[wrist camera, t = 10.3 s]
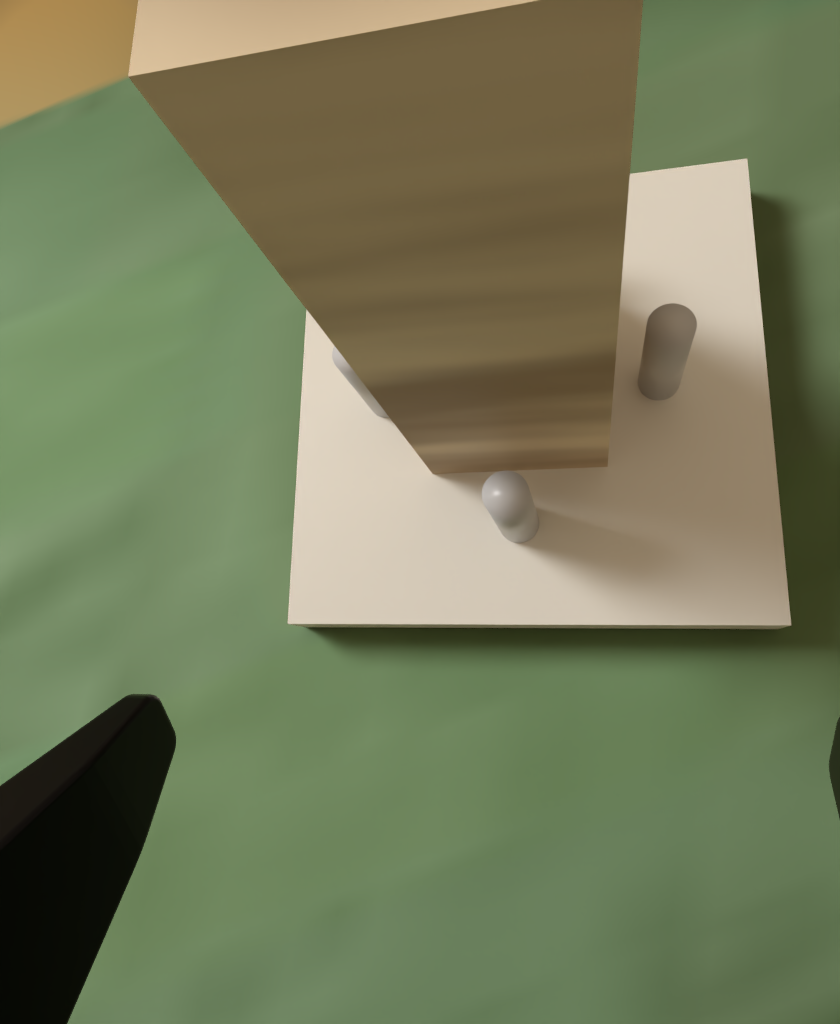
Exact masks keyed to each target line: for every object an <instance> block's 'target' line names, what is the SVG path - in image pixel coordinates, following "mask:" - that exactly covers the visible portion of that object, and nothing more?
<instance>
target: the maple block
mask: <svg viewBox="0 0 840 1024" xmlns="http://www.w3.org/2000/svg"><path fill="white" fill-rule="evenodd" d="M642 7H643V0H139V1H138V8H137V15H136V23H135V30H134V38H133V45H132V53H131V60H130V68H129V75H128V77H129V78H130V79H131V81H132V82H133V83H134V85H135V86H136V87H137V89H138V90H139V91H140V93H141V94H142V95H143V96H144V98H145V99H146V100H147V102H148V103H149V104H150V106H151V107H152V108H153V110H154V111H155V112H156V113H157V115H158V116H159V117H160V119H161V120H162V121H163V123H164V124H165V125H166V126H167V128H168V129H169V130H170V132H171V133H172V134H173V136H174V137H175V138H176V140H177V141H178V142H179V143H180V145H181V146H182V147H183V149H184V150H185V151H186V153H187V154H188V155H189V157H190V158H191V159H192V160H193V162H194V163H195V164H196V166H197V167H198V168H199V170H200V171H201V172H202V173H203V175H204V176H205V177H206V179H207V180H208V181H209V183H210V184H211V185H212V187H213V188H214V189H215V190H216V192H217V193H218V194H219V196H220V197H221V198H222V200H223V201H224V202H225V203H226V205H227V206H228V207H229V209H230V210H231V211H232V213H233V214H234V215H235V217H236V218H237V219H238V220H239V222H240V223H241V224H242V226H243V227H244V228H245V230H246V231H247V232H248V234H249V235H250V236H251V237H252V239H253V240H254V241H255V243H256V244H257V245H258V247H259V248H260V249H261V250H262V252H263V253H264V254H265V256H266V257H267V258H268V260H269V261H270V262H271V264H272V265H273V266H274V267H275V269H276V270H277V271H278V273H279V274H280V275H281V277H282V278H283V279H284V281H285V282H286V283H287V284H288V286H289V287H290V288H291V290H292V291H293V292H294V294H295V295H296V296H297V297H298V299H299V300H300V301H301V303H302V304H303V305H304V307H305V308H306V309H307V311H308V312H309V313H310V314H311V316H312V317H313V318H314V320H315V321H316V322H317V324H318V325H319V326H320V328H321V329H322V330H323V331H324V333H325V334H326V335H327V337H328V338H329V339H330V341H331V342H332V343H333V344H334V346H335V347H336V348H337V350H338V351H339V352H340V354H341V355H342V356H343V358H344V359H345V360H346V361H347V363H348V364H349V365H350V367H351V368H352V369H353V371H354V372H355V373H356V375H357V376H358V377H359V378H360V380H361V381H362V382H363V384H364V385H365V386H366V388H367V389H368V390H369V391H370V393H371V394H372V395H373V397H374V398H375V399H376V401H377V402H378V403H379V405H380V406H381V407H382V408H383V410H384V411H385V412H386V414H387V415H388V416H389V418H390V419H391V420H392V422H393V423H394V424H395V425H396V427H397V428H398V429H399V431H400V432H401V433H402V435H403V436H404V437H405V438H406V440H407V441H408V442H409V444H410V445H411V446H412V448H413V449H414V450H415V452H416V453H417V454H418V455H419V457H420V458H421V459H422V461H423V462H424V463H425V465H426V466H427V467H428V469H429V470H430V471H431V472H432V474H444V473H468V472H492V471H505V470H507V471H516V470H540V469H564V468H588V467H608V453H609V440H610V427H611V414H612V401H613V388H614V375H615V362H616V348H617V335H618V322H619V309H620V296H621V283H622V270H623V257H624V243H625V230H626V217H627V204H628V191H629V178H630V165H631V152H632V138H633V125H634V112H635V99H636V86H637V73H638V60H639V47H640V34H641V20H642Z"/></svg>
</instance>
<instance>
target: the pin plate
mask: <svg viewBox="0 0 840 1024" xmlns="http://www.w3.org/2000/svg"><path fill="white" fill-rule="evenodd" d="M288 624H291V625H296V626H302V627H390V628H633V629H780V628H784V627H787V626H791V617H790V607H789V596H788V585H787V575H786V564H785V554H784V543H783V532H782V522H781V511H780V501H779V490H778V480H777V469H776V458H775V448H774V437H773V427H772V416H771V406H770V395H769V384H768V374H767V363H766V353H765V342H764V332H763V321H762V310H761V300H760V289H759V279H758V268H757V258H756V247H755V236H754V226H753V215H752V205H751V194H750V183H749V173H748V162H747V159H741V160H733V161H725V162H718V163H710V164H703V165H695V166H687V167H680V168H672V169H664V170H657V171H649V172H642V173H634V174H630V178H629V191H628V204H627V217H626V230H625V243H624V257H623V270H622V283H621V296H620V309H619V322H618V335H617V348H616V362H615V375H614V388H613V401H612V414H611V427H610V440H609V453H608V467H588V468H564V469H540V470H516V471H507V470H505V471H492V472H468V473H444V474H432V472H431V471H430V470H429V469H428V467H427V466H426V465H425V463H424V462H423V461H422V459H421V458H420V457H419V455H418V454H417V453H416V452H415V450H414V449H413V448H412V446H411V445H410V444H409V442H408V441H407V440H406V438H405V437H404V436H403V435H402V433H401V432H400V431H399V429H398V428H397V427H396V425H395V424H394V423H393V422H392V420H391V419H390V418H389V416H388V415H387V414H386V412H385V411H384V410H383V408H382V407H381V406H380V405H379V403H378V402H377V401H376V399H375V398H374V397H373V395H372V394H371V393H370V391H369V390H368V389H367V388H366V386H365V385H364V384H363V382H362V381H361V380H360V378H359V377H358V376H357V375H356V373H355V372H354V371H353V369H352V368H351V367H350V365H349V364H348V363H347V361H346V360H345V359H344V358H343V356H342V355H341V354H340V352H339V351H338V350H337V348H336V347H335V346H334V344H333V343H332V342H331V341H330V339H329V338H328V337H327V335H326V334H325V333H324V331H323V330H322V329H321V328H320V326H319V325H318V324H317V322H316V321H315V320H314V318H313V317H312V316H311V314H310V313H309V312H308V311H306V328H305V345H304V361H303V378H302V395H301V411H300V428H299V445H298V462H297V478H296V495H295V512H294V528H293V545H292V562H291V579H290V595H289V612H288Z"/></svg>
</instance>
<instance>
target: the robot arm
mask: <svg viewBox="0 0 840 1024" xmlns="http://www.w3.org/2000/svg"><path fill="white" fill-rule="evenodd" d="M175 747H176V735H175V731H174V729H173V727H172V724H171V722H170V720H169V718H168V716H167V714H166V711H165V709H164V707H163V705H162V703H161V701H160V699H159V698H158V697H156V696H155V695H149V694H131V695H128V696H126V697H124V698H122V699H121V700H120V701H118V702H117V703H115V704H114V705H113V706H111V707H110V708H108V709H107V710H106V711H104V712H103V713H101V714H100V715H99V716H97V717H96V718H94V719H93V720H92V721H90V722H89V723H87V724H86V725H85V726H83V727H82V728H80V729H79V730H78V731H76V732H75V733H73V734H72V735H71V736H69V737H68V738H66V739H65V740H64V741H62V742H61V743H59V744H58V745H57V746H55V747H54V748H53V749H51V750H50V751H48V752H47V753H46V754H44V755H43V756H41V757H40V758H39V759H37V760H36V761H34V762H33V763H32V764H30V765H29V766H27V767H26V768H25V769H23V770H22V771H20V772H19V773H18V774H16V775H15V776H13V777H12V778H11V779H9V780H8V781H6V782H5V783H4V784H2V785H1V786H0V1024H67V1023H68V1020H69V1018H70V1016H71V1014H72V1011H73V1009H74V1007H75V1004H76V1002H77V1000H78V997H79V995H80V993H81V990H82V988H83V986H84V984H85V981H86V979H87V977H88V974H89V972H90V970H91V967H92V965H93V963H94V961H95V958H96V956H97V954H98V951H99V949H100V947H101V944H102V942H103V940H104V938H105V935H106V933H107V931H108V928H109V926H110V924H111V921H112V919H113V917H114V914H115V912H116V910H117V908H118V905H119V903H120V901H121V898H122V896H123V894H124V891H125V889H126V887H127V885H128V882H129V880H130V878H131V875H132V873H133V871H134V868H135V866H136V864H137V861H138V859H139V856H140V854H141V851H142V849H143V846H144V843H145V840H146V837H147V835H148V832H149V829H150V826H151V822H152V819H153V816H154V813H155V810H156V807H157V804H158V801H159V798H160V795H161V792H162V789H163V785H164V782H165V779H166V776H167V773H168V770H169V767H170V764H171V761H172V758H173V755H174V751H175ZM829 772H830V779H831V783H832V788H833V792H834V796H835V801H836V805H837V809H838V814H839V818H840V717H839V719H838V722H837V726H836V730H835V735H834V740H833V745H832V749H831V754H830V759H829Z"/></svg>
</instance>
